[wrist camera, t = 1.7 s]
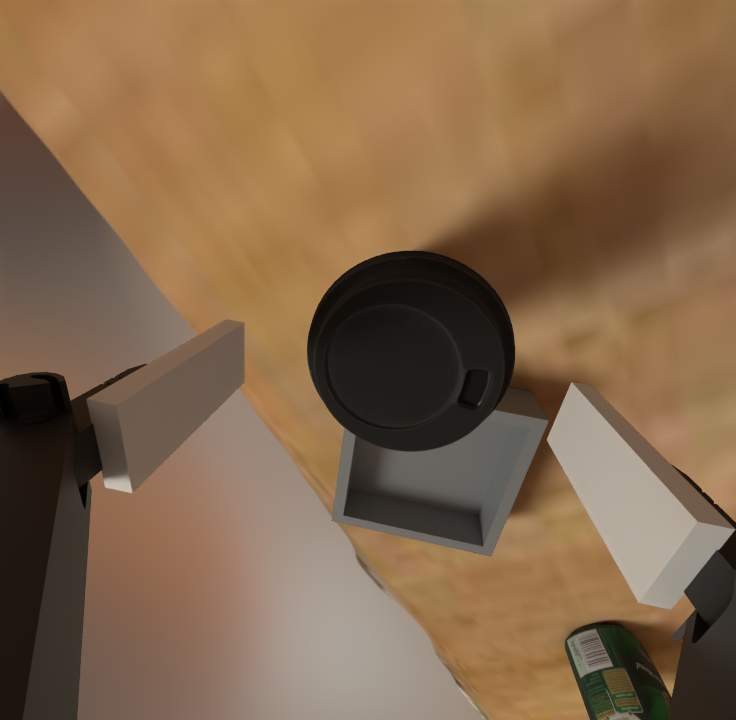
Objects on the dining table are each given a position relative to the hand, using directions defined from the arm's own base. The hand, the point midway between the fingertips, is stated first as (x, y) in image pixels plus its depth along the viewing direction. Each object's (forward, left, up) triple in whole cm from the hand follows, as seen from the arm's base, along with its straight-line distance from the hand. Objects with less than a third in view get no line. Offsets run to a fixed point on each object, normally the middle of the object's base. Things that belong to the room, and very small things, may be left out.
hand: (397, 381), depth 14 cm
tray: (-4, +14, -15) cm, 21 cm away
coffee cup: (0, 0, -16) cm, 16 cm away
